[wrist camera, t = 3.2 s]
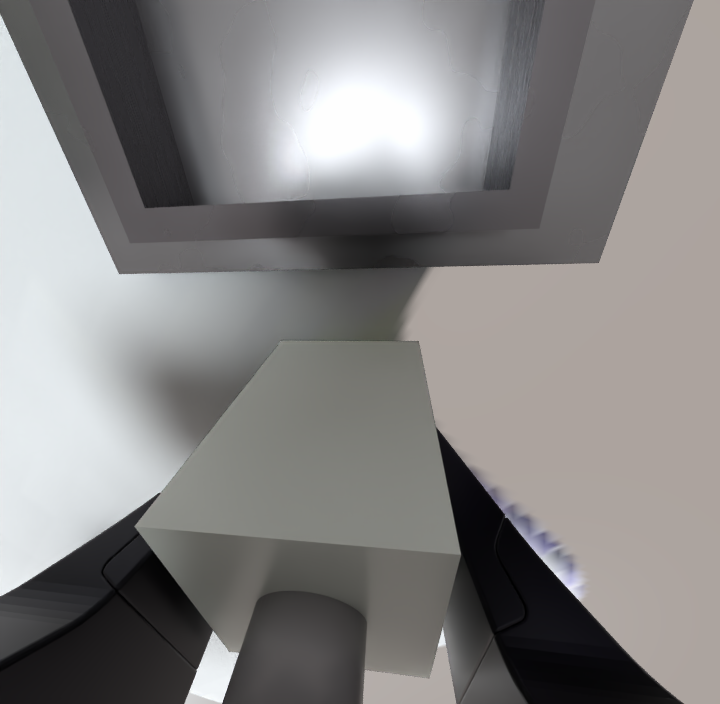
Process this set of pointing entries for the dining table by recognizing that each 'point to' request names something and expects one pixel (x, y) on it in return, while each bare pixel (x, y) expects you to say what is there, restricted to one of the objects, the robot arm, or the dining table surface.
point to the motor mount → (348, 125)
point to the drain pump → (317, 524)
